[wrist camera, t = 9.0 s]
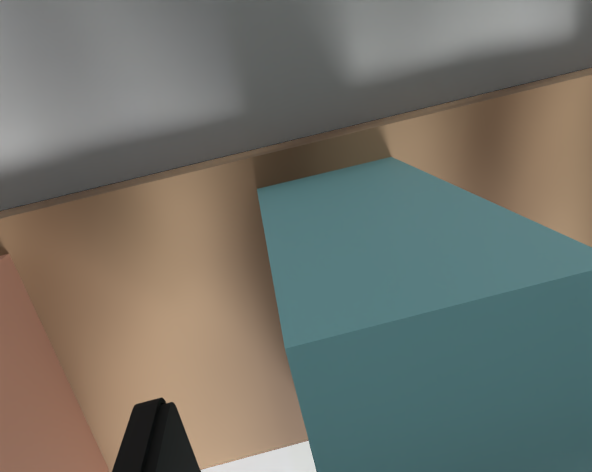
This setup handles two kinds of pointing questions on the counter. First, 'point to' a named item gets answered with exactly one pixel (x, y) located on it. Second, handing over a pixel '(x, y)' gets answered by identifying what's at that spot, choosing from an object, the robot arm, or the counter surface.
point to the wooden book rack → (258, 258)
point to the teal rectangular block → (430, 325)
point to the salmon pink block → (36, 393)
